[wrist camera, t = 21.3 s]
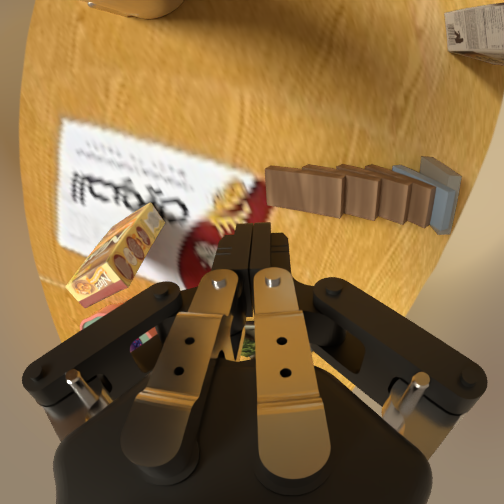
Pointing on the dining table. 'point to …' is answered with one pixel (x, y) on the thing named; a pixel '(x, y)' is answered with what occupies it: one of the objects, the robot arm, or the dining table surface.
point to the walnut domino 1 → (305, 190)
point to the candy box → (116, 257)
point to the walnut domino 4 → (414, 197)
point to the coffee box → (477, 32)
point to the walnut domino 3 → (389, 194)
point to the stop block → (442, 182)
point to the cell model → (106, 310)
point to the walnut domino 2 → (357, 192)
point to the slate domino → (442, 197)
